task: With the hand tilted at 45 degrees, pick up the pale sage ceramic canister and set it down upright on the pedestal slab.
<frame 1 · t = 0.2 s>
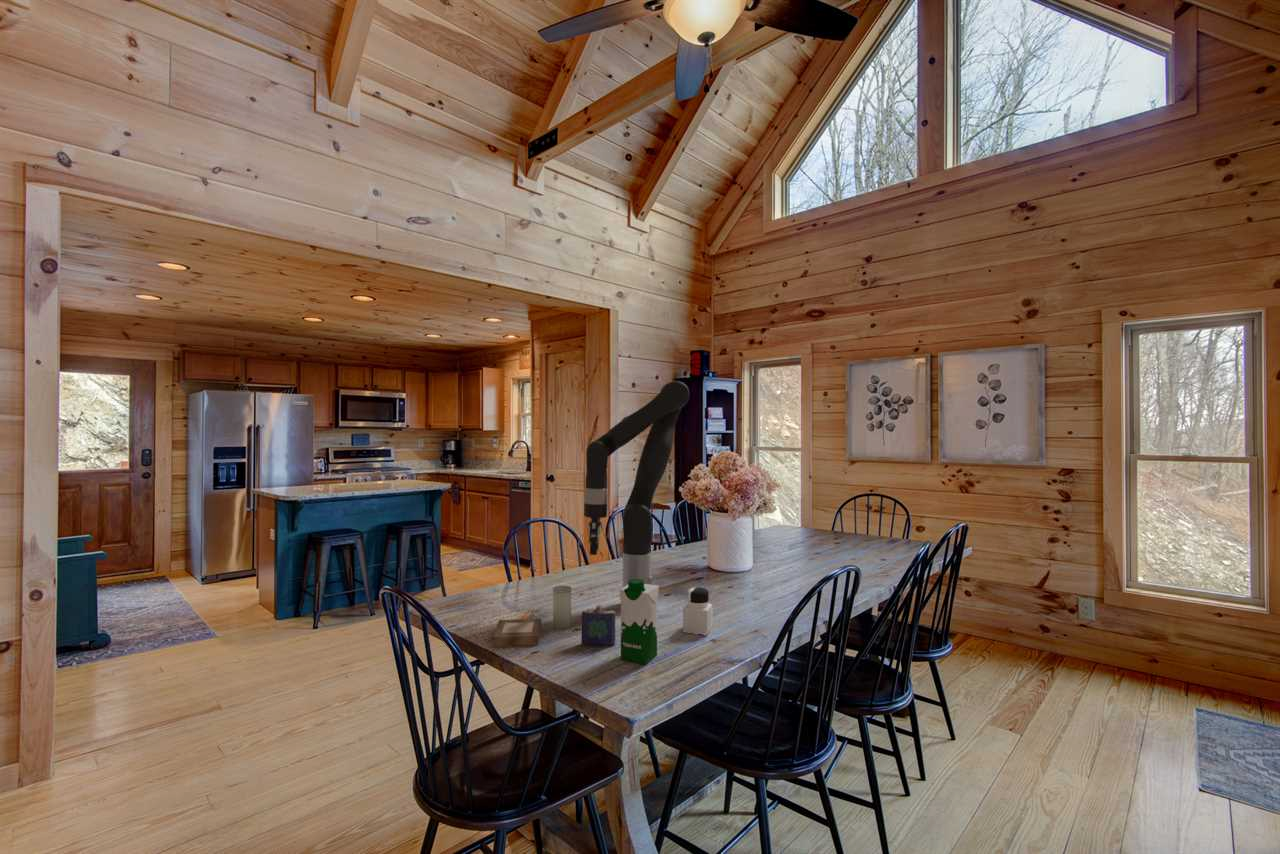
hand: (594, 552, 192), 18 cm above the table, tool pointing down, fingers open, 8 cm apart
medicine bottle: (697, 631, 170), on the table
canister: (562, 625, 174), on the table
milk carton: (639, 658, 150), on the table
flask: (598, 645, 159), on the table
pedestal: (518, 636, 165), on the table
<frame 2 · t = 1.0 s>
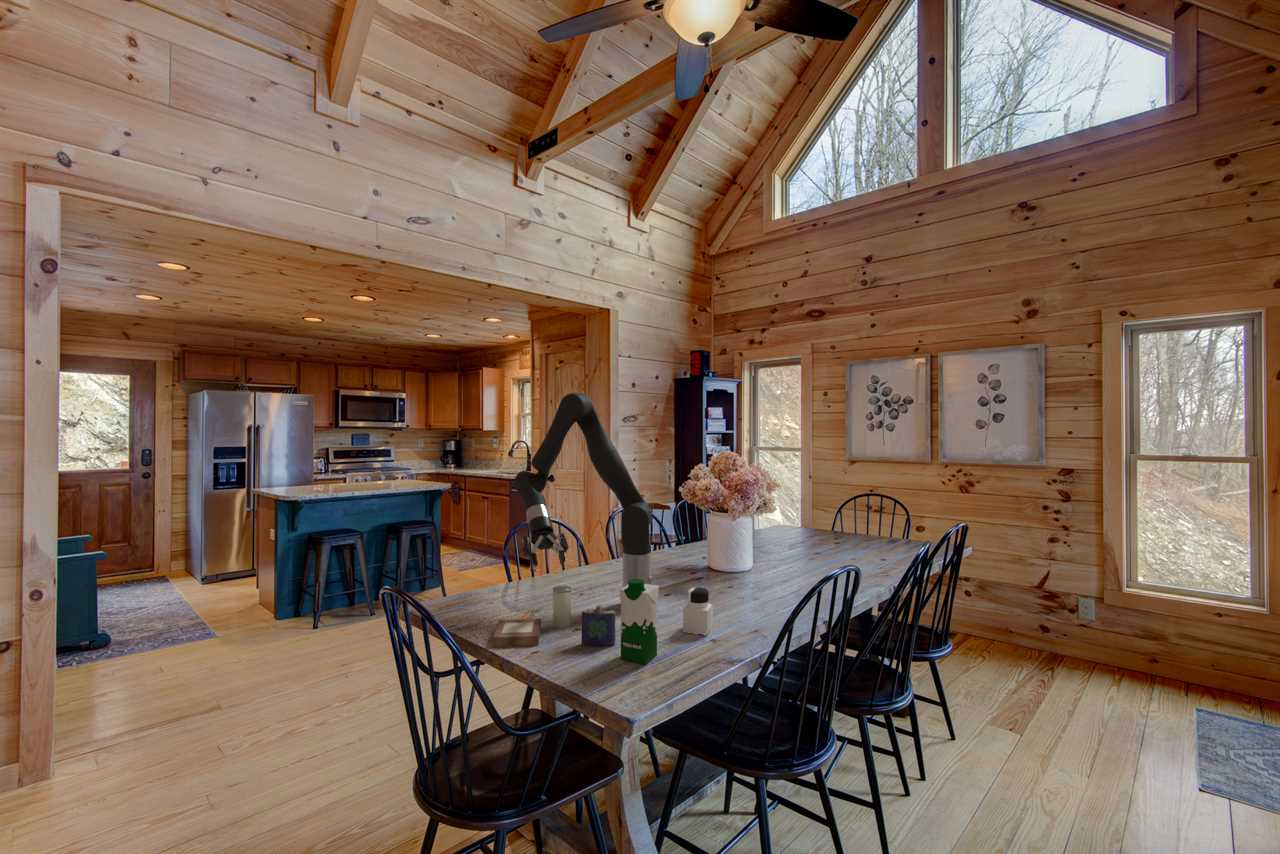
hand: (549, 564, 184), 16 cm above the table, tool tilted 45°, fingers open, 8 cm apart
nothing on the table moved.
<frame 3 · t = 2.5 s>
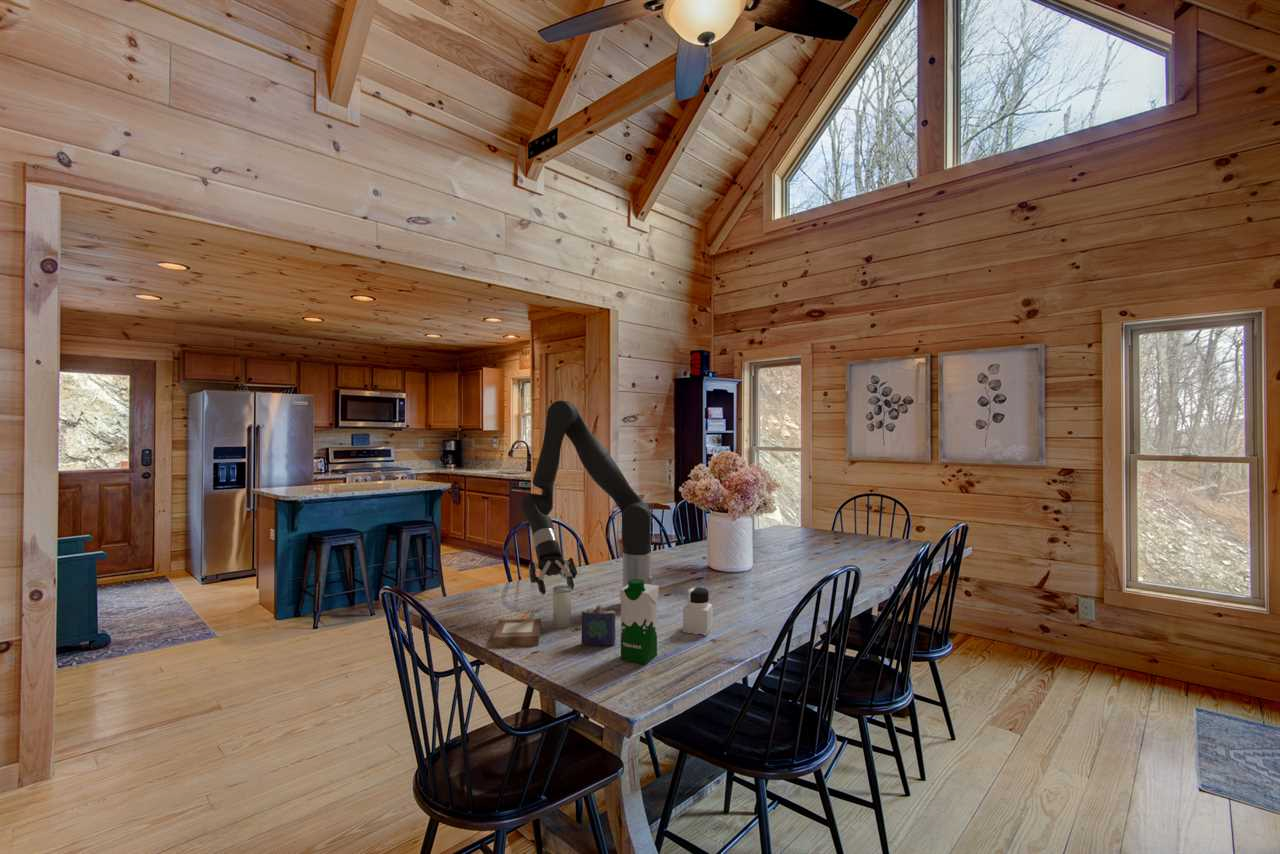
hand: (557, 591, 177), 9 cm above the table, tool tilted 45°, fingers open, 8 cm apart
nothing on the table moved.
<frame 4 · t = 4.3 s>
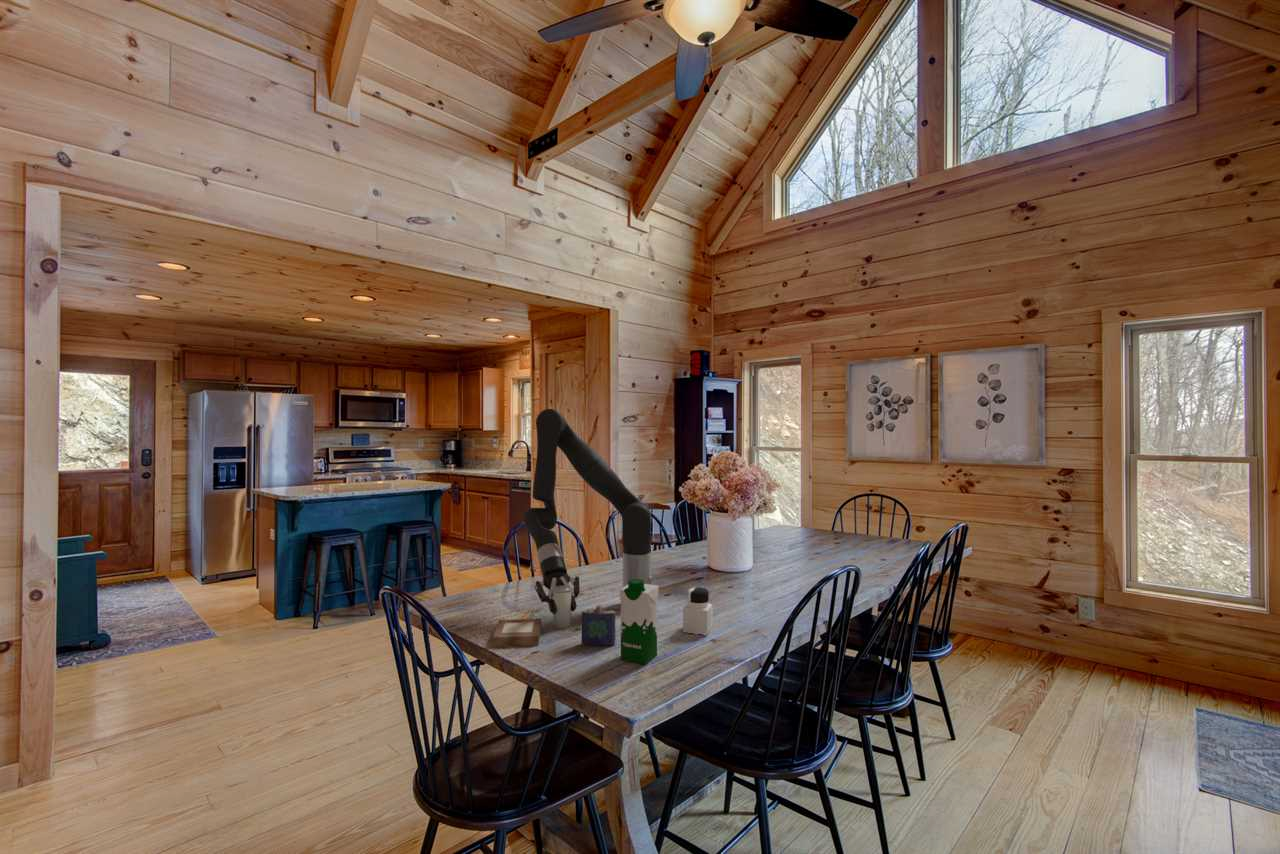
hand: (564, 611, 172), 5 cm above the table, tool tilted 45°, fingers closed on canister, 5 cm apart
canister: (562, 625, 174), on the table, touching gripper
everything else where it was.
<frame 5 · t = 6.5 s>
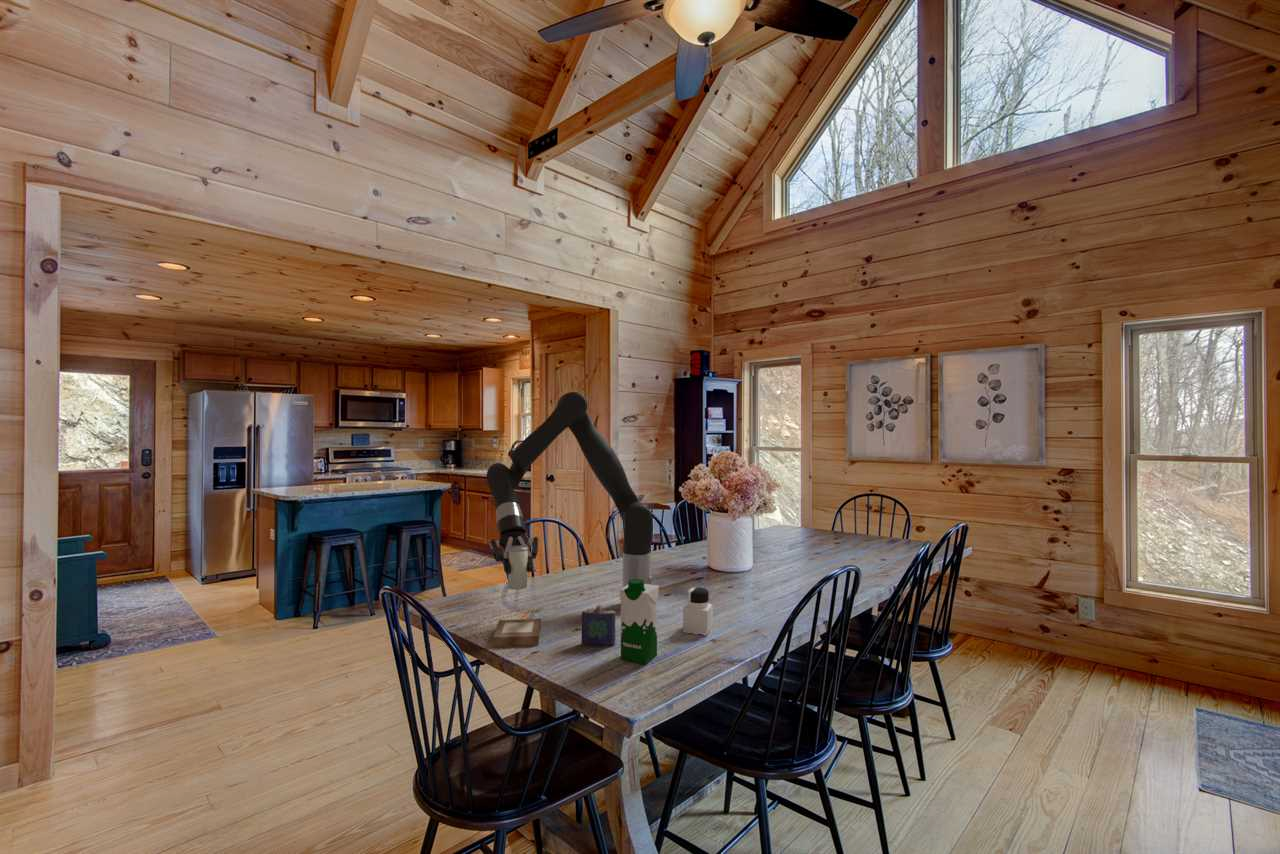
hand: (519, 571, 163), 19 cm above the table, tool tilted 45°, fingers closed on canister, 5 cm apart
canister: (517, 586, 165), point 14 cm above the table, touching gripper
everything else where it was.
when the fingers open (8 cm above the table, at t = 8.9 s): canister stays where it is, resting on pedestal.
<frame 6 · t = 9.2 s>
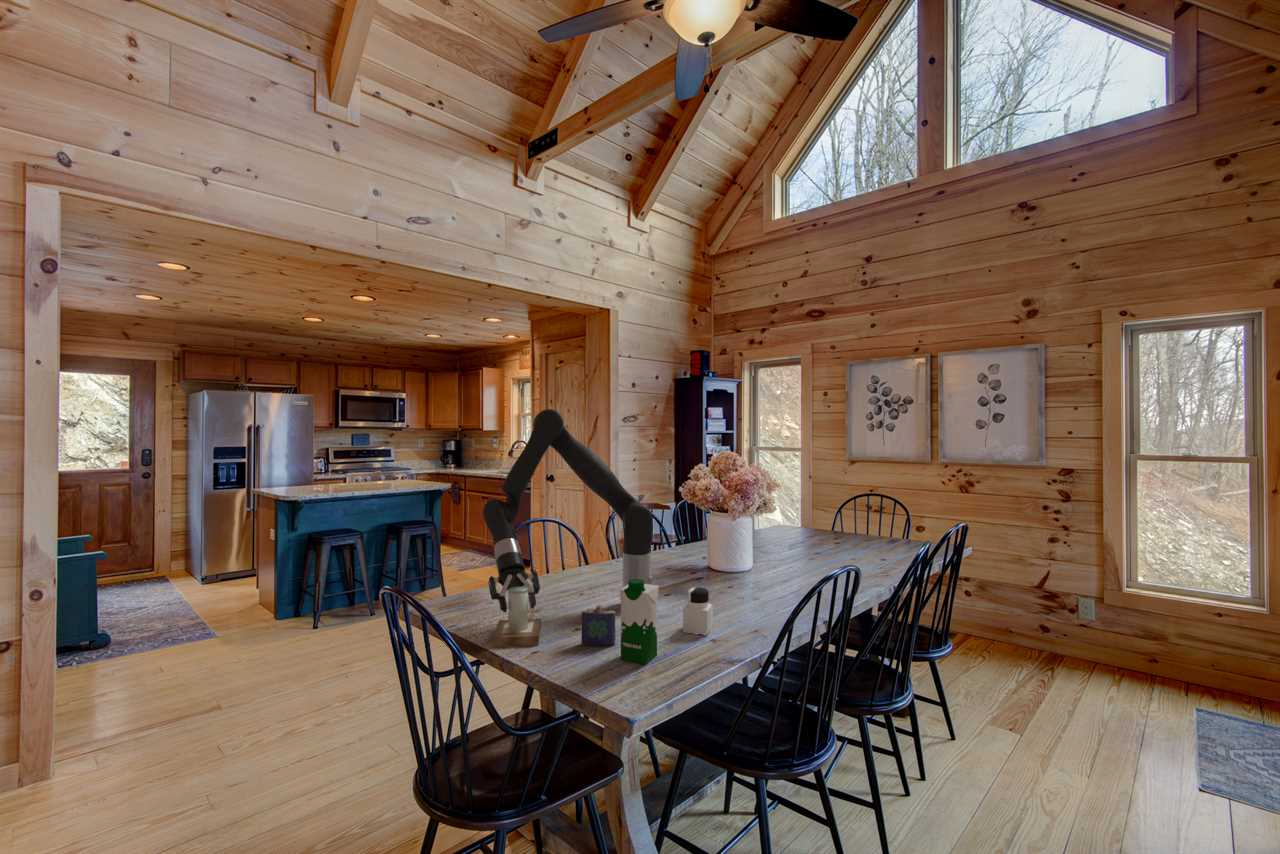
hand: (519, 609, 162), 8 cm above the table, tool tilted 45°, fingers open, 7 cm apart
canister: (517, 628, 164), point 3 cm above the table, touching pedestal
everything else where it was.
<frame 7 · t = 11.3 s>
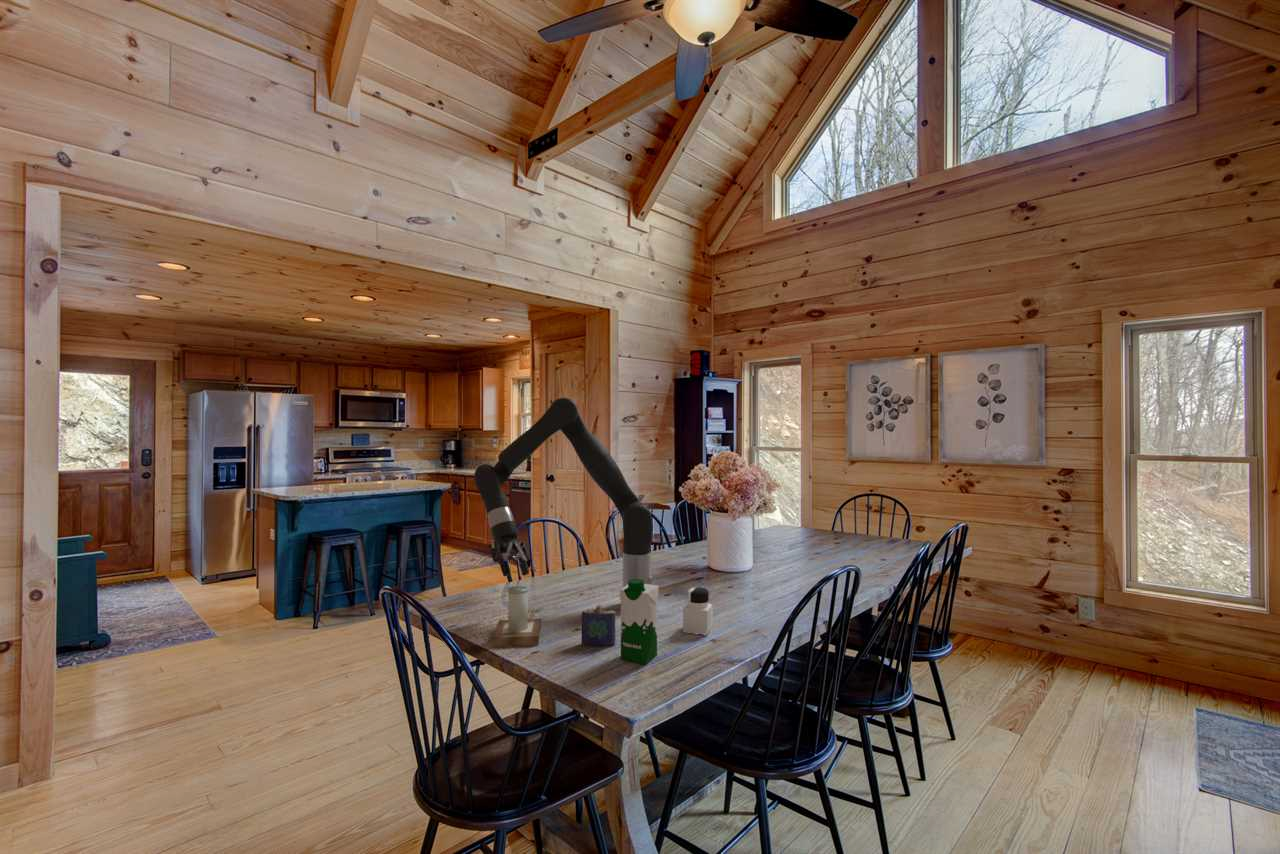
hand: (516, 574, 176), 14 cm above the table, tool tilted 30°, fingers open, 8 cm apart
nothing on the table moved.
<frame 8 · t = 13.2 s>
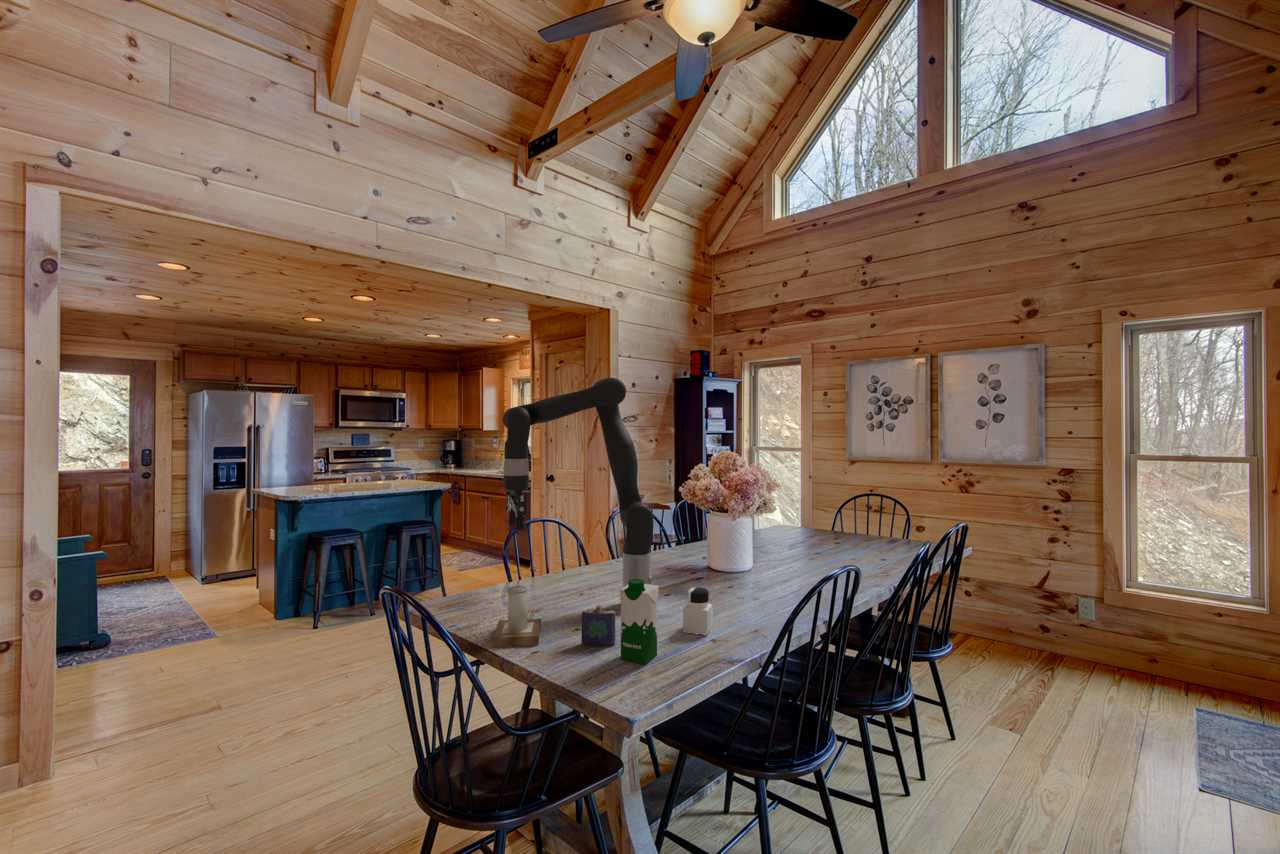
hand: (515, 527, 178), 28 cm above the table, tool pointing down, fingers open, 8 cm apart
nothing on the table moved.
at the end: canister inside the target area on the pedestal (0.8 cm from its centre), point 2.7 cm above the pedestal's base; canister tilted 1°; the gripper is holding nothing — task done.
